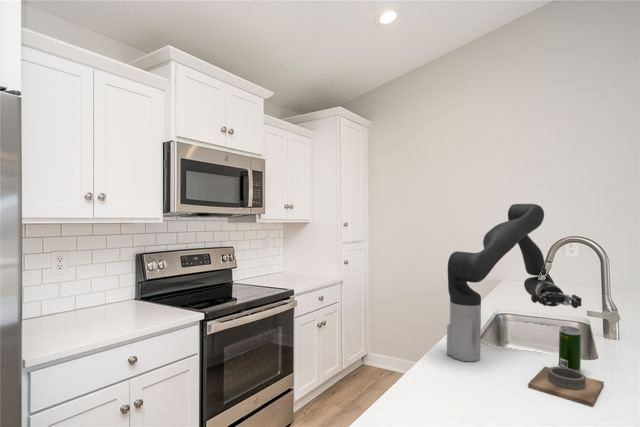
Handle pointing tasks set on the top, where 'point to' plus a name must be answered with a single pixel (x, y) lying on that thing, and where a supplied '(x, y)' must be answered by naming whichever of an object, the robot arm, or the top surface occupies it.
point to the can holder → (567, 384)
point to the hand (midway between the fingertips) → (560, 303)
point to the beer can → (570, 348)
